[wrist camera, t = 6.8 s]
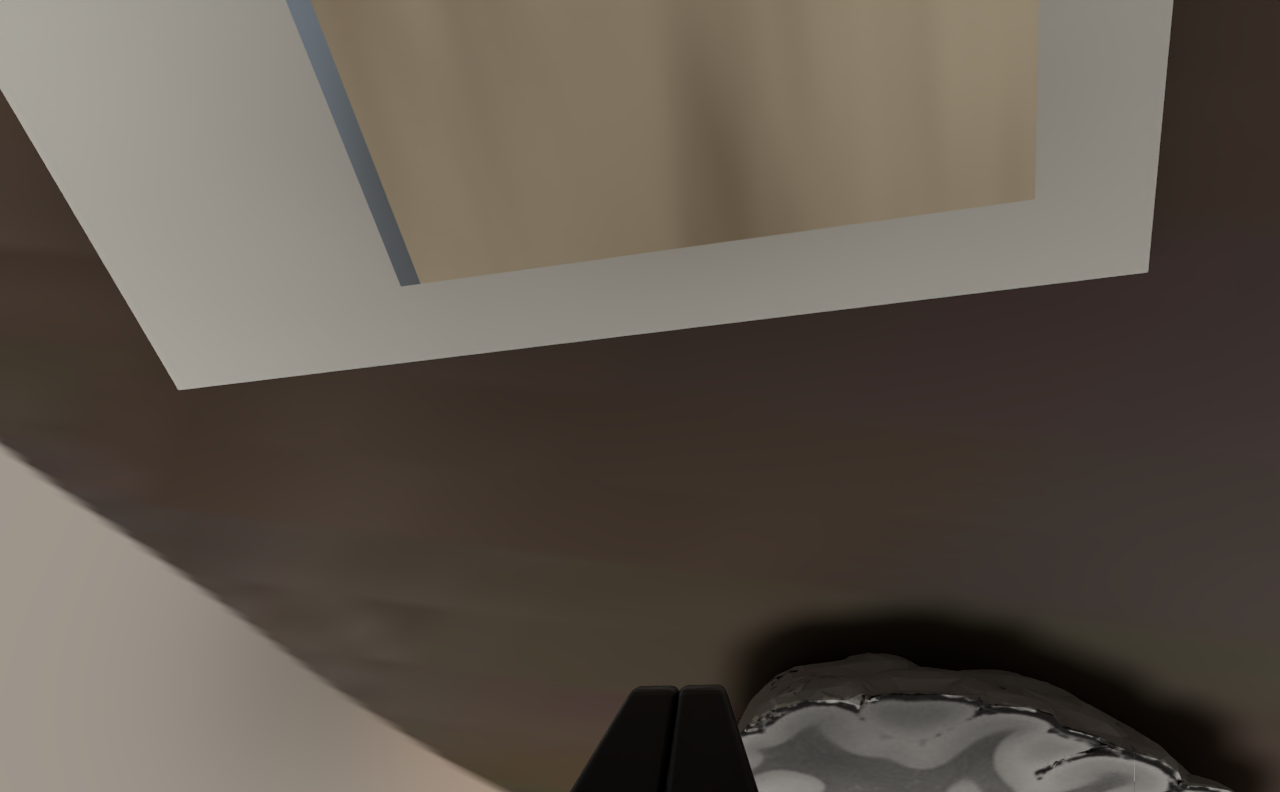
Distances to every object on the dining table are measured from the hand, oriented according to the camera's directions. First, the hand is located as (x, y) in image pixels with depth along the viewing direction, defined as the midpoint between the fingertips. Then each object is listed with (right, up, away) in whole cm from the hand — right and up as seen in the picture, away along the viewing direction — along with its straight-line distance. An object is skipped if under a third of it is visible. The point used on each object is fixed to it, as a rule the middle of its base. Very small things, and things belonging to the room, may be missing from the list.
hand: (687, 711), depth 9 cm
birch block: (-4, +8, +6) cm, 11 cm away
